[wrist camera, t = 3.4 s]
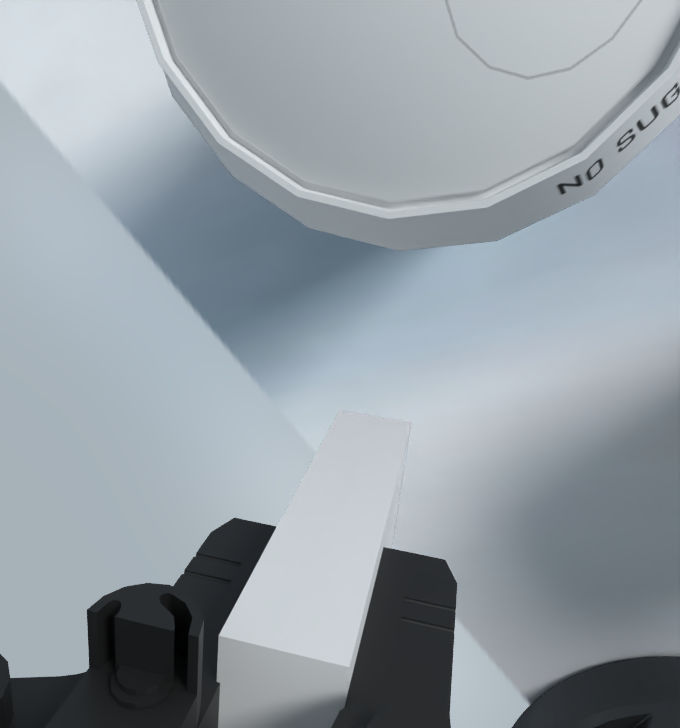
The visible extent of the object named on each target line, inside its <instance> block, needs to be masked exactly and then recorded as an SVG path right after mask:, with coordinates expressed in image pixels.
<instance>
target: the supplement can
mask: <svg viewBox="0 0 680 728" xmlns="http://www.w3.org/2000/svg"><path fill="white" fill-rule="evenodd" d="M136 1H137V4H138V7H139V10H140V13H141V15H142V18H143V21H144V24H145V27H146V30H147V32H148V35H149V38H150V41H151V44H152V47H153V49H154V52H155V55H156V58H157V61H158V63H159V64H160V65H161V67H162V68H163V71H164V73H165V76H166V79H167V82H168V85H169V88H170V91H171V93H172V96H173V98H174V99H175V101H176V102H177V103H178V105H179V106H180V107H181V109H182V110H183V111H184V113H185V114H186V115H187V117H188V118H189V119H190V121H191V122H192V123H193V125H194V126H195V127H196V129H197V130H198V131H199V133H200V134H201V135H202V137H203V138H204V139H205V141H206V142H207V143H208V145H209V146H210V147H211V149H212V150H213V151H214V153H215V154H216V155H217V157H218V158H219V159H220V161H221V162H222V163H223V165H224V166H225V167H226V169H227V170H228V171H229V173H230V174H231V175H232V176H233V177H234V178H236V179H237V180H239V181H240V182H242V183H243V184H245V185H246V186H248V187H249V188H251V189H252V190H253V191H255V192H256V193H258V194H259V195H261V196H262V197H264V198H265V199H267V200H268V201H270V202H271V203H273V204H274V205H276V206H277V207H278V208H280V209H281V210H283V211H284V212H286V213H287V214H289V215H290V216H292V217H293V218H295V219H296V220H298V221H299V222H300V223H302V224H303V225H305V226H306V227H308V228H310V229H314V230H318V231H322V232H326V233H330V234H334V235H337V236H341V237H345V238H349V239H353V240H357V241H361V242H365V243H369V244H373V245H377V246H381V247H385V248H389V249H393V250H397V251H405V250H415V249H424V248H434V247H444V246H453V245H463V244H472V243H482V242H491V241H498V240H500V239H502V238H504V237H506V236H508V235H511V234H513V233H515V232H517V231H519V230H521V229H523V228H525V227H528V226H530V225H532V224H534V223H536V222H538V221H540V220H542V219H545V218H547V217H549V216H551V215H553V214H555V213H557V212H559V211H562V210H564V209H566V208H568V207H570V206H572V205H574V204H576V203H579V202H581V201H583V200H585V199H587V198H589V197H591V196H593V195H595V194H596V193H597V192H598V191H599V190H600V189H601V188H602V187H604V186H605V185H606V184H607V183H608V182H609V181H610V180H611V179H612V178H613V177H614V176H615V175H616V174H617V173H618V172H620V171H621V170H622V169H623V168H624V167H625V166H626V165H627V164H628V163H629V162H630V161H631V160H632V159H633V158H634V157H636V156H637V155H638V154H639V153H640V152H641V151H642V150H643V149H644V148H645V147H646V146H647V145H648V144H649V143H650V142H652V141H653V140H654V139H655V138H656V137H657V136H658V135H659V134H660V133H661V132H662V131H663V130H664V129H665V128H666V127H668V126H669V125H670V124H671V123H672V122H673V121H674V120H675V119H676V118H677V117H678V116H679V115H680V0H136Z"/></svg>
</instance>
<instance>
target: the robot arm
mask: <svg viewBox="0 0 680 728" xmlns="http://www.w3.org/2000/svg"><path fill="white" fill-rule="evenodd" d="M410 428H411V423H409V422H404V421H398V420H392V419H387V418H381V417H375V416H370V415H364V414H359V413H353V412H347V411H342V410H339V411H338V413H337V415H336V417H335V419H334V421H333V423H332V424H331V426H330V428H329V430H328V432H327V434H326V436H325V437H324V439H323V441H322V443H321V445H320V447H319V449H318V451H317V452H316V454H315V456H314V458H313V460H312V462H311V464H310V466H309V467H308V469H307V471H306V473H305V475H304V477H303V479H302V481H301V482H300V484H299V486H298V488H297V490H296V492H295V494H294V495H293V497H292V499H291V501H290V503H289V505H288V507H287V509H286V510H285V512H284V514H283V516H282V518H281V520H280V522H279V524H278V525H277V527H275V526H271V525H266V524H261V523H256V522H252V521H247V520H242V519H238V518H233V519H232V520H230V521H229V522H227V523H226V524H224V525H222V526H221V527H219V528H218V529H216V530H214V531H213V532H211V533H210V535H209V536H208V537H207V539H206V540H205V542H204V543H203V544H202V546H201V547H200V549H199V550H198V552H197V554H196V557H193V559H192V560H191V562H190V563H189V565H188V566H187V567H186V569H185V572H184V574H182V575H181V576H180V578H179V579H178V580H177V582H176V583H175V585H174V586H170V585H162V584H151V583H145V584H139V585H133V586H127V587H123V588H121V589H119V590H116V591H114V592H112V593H110V594H107V595H105V596H103V597H102V598H101V599H100V600H98V601H97V602H96V603H95V604H94V605H92V606H91V607H90V608H89V609H88V610H87V620H88V621H87V622H88V645H89V669H88V670H87V672H84V673H81V674H76V675H68V676H60V677H34V678H33V677H32V678H10V675H9V668H8V661H6V660H5V658H4V657H3V656H1V654H0V728H451V726H450V715H449V714H450V713H449V712H450V696H451V678H452V662H453V645H454V627H455V609H456V593H457V582H456V580H455V579H454V577H453V575H452V573H451V571H450V569H449V567H448V565H447V563H446V561H445V560H443V559H438V558H433V557H428V556H424V555H419V554H414V553H409V552H405V551H400V550H395V549H391V548H392V543H393V539H394V533H395V527H396V520H397V513H398V507H399V500H400V494H401V487H402V481H403V474H404V467H405V461H406V454H407V448H408V441H409V434H410ZM512 728H680V657H651V658H640V659H633V660H626V661H621V662H616V663H612V664H608V665H604V666H601V667H597V668H594V669H591V670H588V671H586V672H583V673H581V674H578V675H576V676H574V677H571V678H569V679H567V680H565V681H564V682H562V683H560V684H558V685H557V686H555V687H553V688H552V689H550V690H549V691H547V692H546V693H544V694H543V695H542V696H540V697H539V698H538V699H537V700H536V701H534V702H533V703H532V704H531V705H530V706H529V707H528V708H527V709H526V710H525V711H524V712H523V714H522V715H521V716H520V717H519V719H518V720H517V721H516V723H515V724H514V726H513V727H512Z"/></svg>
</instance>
